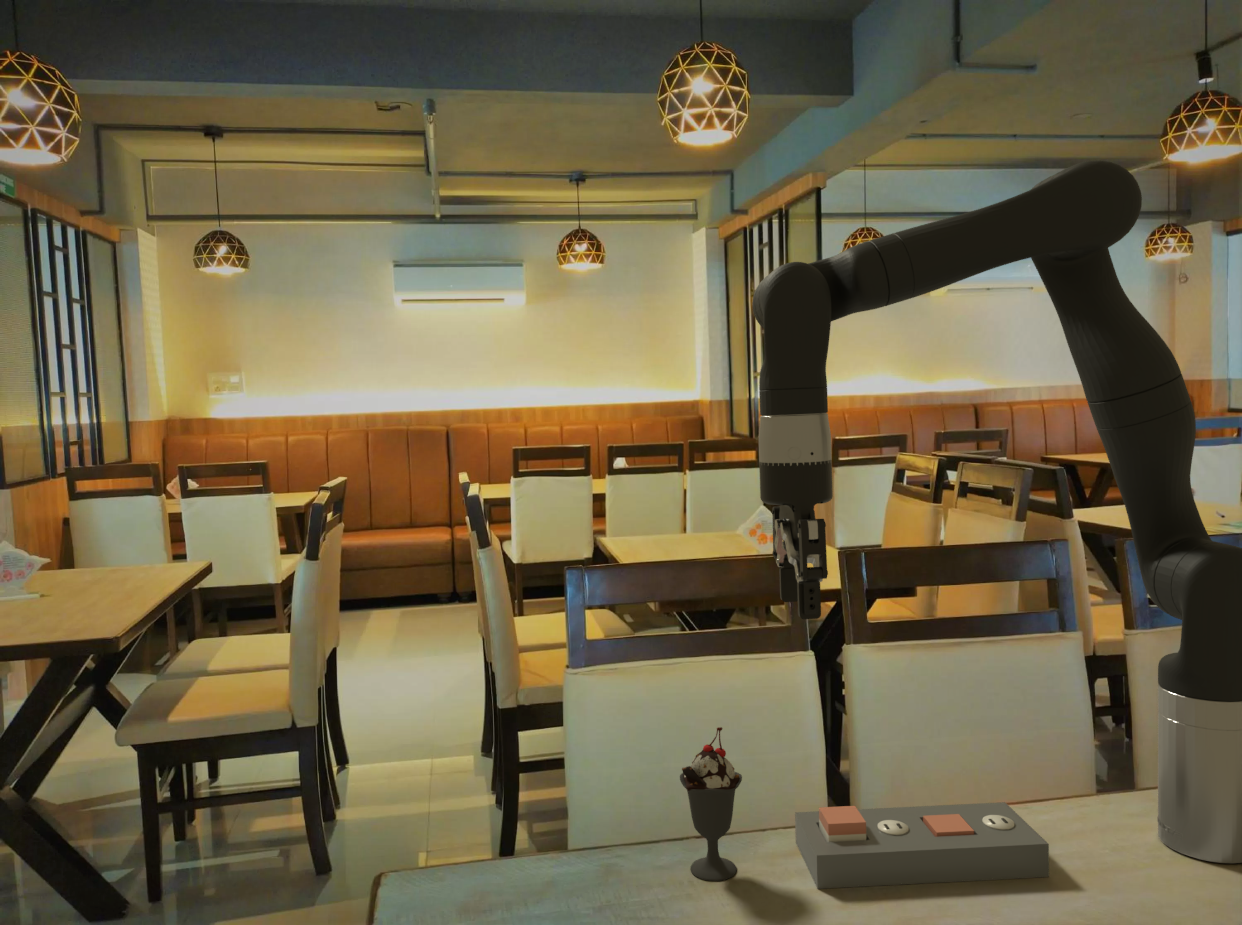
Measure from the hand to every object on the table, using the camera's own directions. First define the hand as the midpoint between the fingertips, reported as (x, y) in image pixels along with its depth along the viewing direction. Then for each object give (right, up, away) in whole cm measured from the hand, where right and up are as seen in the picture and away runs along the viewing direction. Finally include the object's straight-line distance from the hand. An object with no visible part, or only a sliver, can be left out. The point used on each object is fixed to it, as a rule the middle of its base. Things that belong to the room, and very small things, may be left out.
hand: (799, 609), depth 98 cm
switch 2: (+16, -26, +1) cm, 30 cm away
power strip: (+13, -27, +1) cm, 30 cm away
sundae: (-9, -28, +1) cm, 30 cm away
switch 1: (+5, -25, +1) cm, 25 cm away
